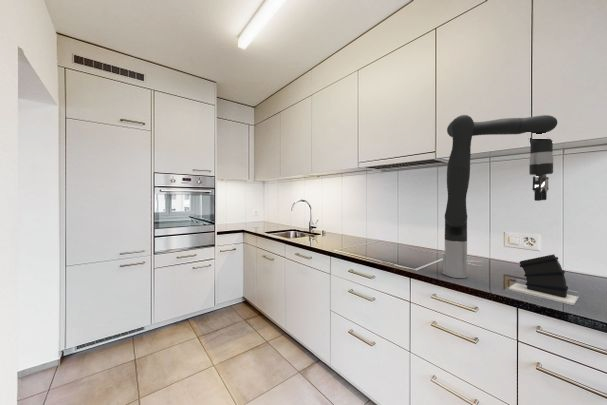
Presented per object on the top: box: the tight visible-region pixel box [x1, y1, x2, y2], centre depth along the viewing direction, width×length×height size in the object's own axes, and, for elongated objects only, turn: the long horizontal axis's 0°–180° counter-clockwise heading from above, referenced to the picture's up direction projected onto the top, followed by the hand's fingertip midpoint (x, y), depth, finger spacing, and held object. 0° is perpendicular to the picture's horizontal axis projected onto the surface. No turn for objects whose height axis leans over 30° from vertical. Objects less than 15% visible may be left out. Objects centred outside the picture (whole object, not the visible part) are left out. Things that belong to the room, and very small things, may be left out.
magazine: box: [519, 254, 569, 298], centre depth 95 cm, size 4×13×15 cm, turn 35°
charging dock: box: [508, 278, 580, 306], centre depth 96 cm, size 18×10×2 cm, turn 35°
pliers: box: [467, 259, 485, 267], centre depth 141 cm, size 10×2×15 cm
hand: (540, 200), depth 108 cm, fingers open, 8 cm apart
